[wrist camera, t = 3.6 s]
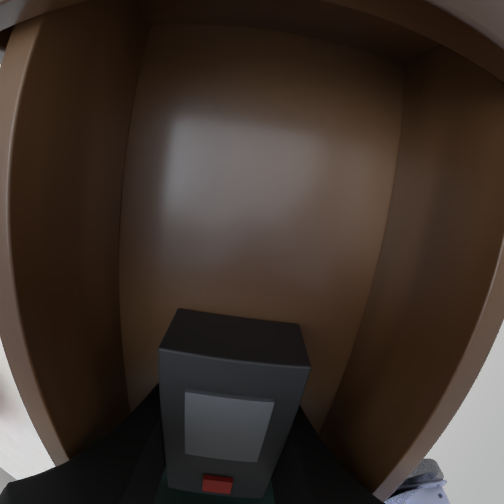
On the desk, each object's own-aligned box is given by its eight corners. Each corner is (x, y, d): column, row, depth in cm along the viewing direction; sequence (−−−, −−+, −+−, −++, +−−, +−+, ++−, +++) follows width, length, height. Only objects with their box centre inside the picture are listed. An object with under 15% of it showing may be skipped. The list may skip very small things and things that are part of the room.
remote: (299, 323, 9) (314, 372, 6) (261, 458, 10) (263, 503, 8) (177, 307, 8) (154, 352, 6) (177, 448, 10) (167, 492, 8)
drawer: (311, 478, 13) (325, 563, 7) (123, 455, 12) (94, 537, 7) (426, 69, 7) (543, 20, 2) (126, 23, 7) (37, -65, 1)
